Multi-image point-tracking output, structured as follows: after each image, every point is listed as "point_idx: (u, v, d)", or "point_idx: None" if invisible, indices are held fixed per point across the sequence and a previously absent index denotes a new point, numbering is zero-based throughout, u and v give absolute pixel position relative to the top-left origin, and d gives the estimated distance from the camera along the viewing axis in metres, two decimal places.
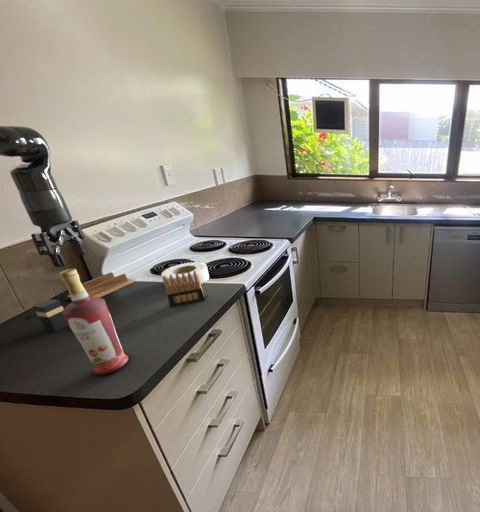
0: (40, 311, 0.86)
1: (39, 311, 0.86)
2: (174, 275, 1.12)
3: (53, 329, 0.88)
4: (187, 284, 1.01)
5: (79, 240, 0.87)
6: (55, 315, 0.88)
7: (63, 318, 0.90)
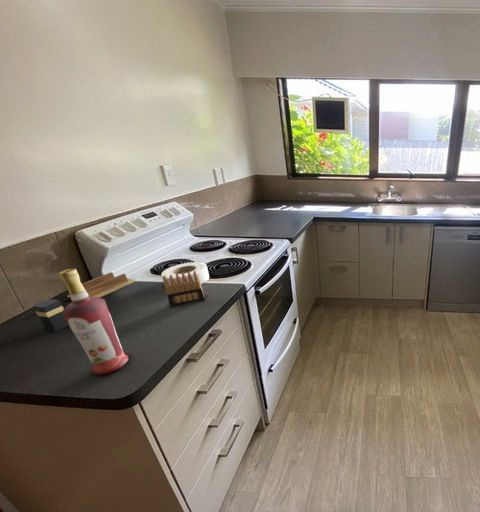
0: (40, 311, 0.86)
1: (39, 311, 0.86)
2: (174, 275, 1.12)
3: (53, 329, 0.88)
4: (187, 284, 1.01)
5: None
6: (55, 315, 0.88)
7: (63, 318, 0.90)
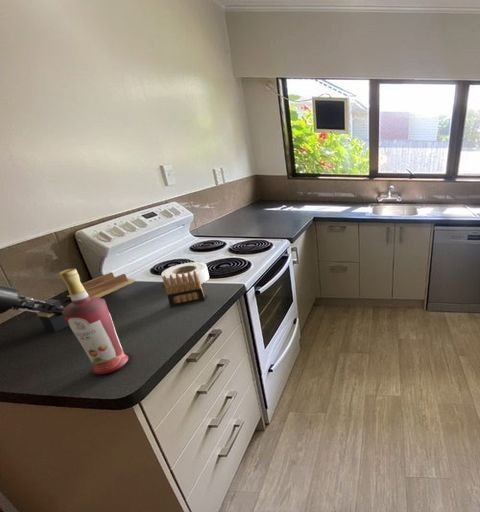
0: (40, 311, 0.86)
1: None
2: (174, 275, 1.12)
3: (53, 329, 0.88)
4: (187, 284, 1.01)
5: None
6: (55, 315, 0.88)
7: (63, 318, 0.90)
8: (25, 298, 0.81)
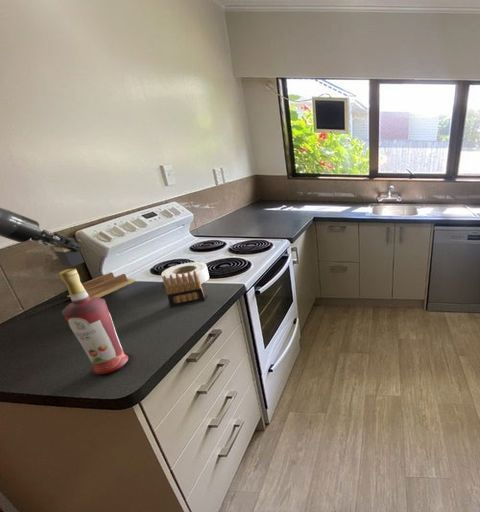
0: (57, 246, 0.95)
1: (56, 246, 0.95)
2: (174, 275, 1.12)
3: (68, 264, 0.97)
4: (187, 284, 1.01)
5: (62, 246, 0.95)
6: (71, 251, 0.97)
7: (78, 256, 0.99)
8: (45, 231, 0.91)
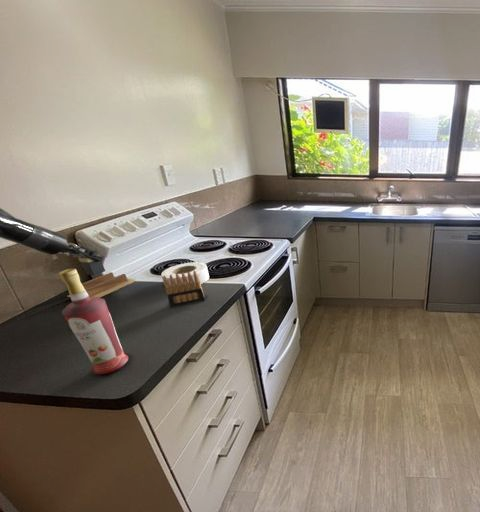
0: (82, 257, 1.05)
1: (81, 257, 1.06)
2: (174, 275, 1.12)
3: (91, 273, 1.08)
4: (187, 284, 1.01)
5: (86, 257, 1.05)
6: (94, 261, 1.08)
7: (100, 265, 1.10)
8: (71, 244, 1.01)
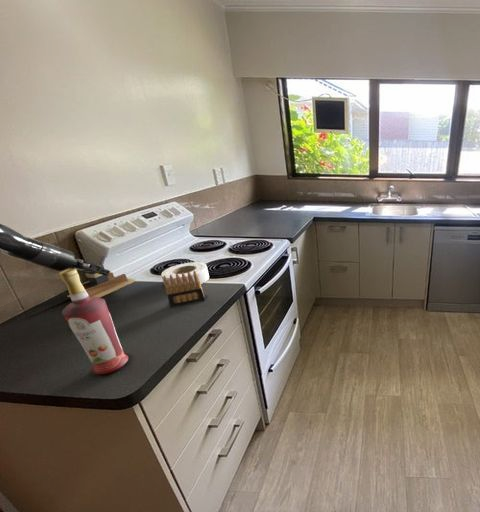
0: (89, 273, 1.08)
1: (88, 273, 1.08)
2: (174, 275, 1.12)
3: None
4: (187, 284, 1.01)
5: (94, 272, 1.06)
6: (100, 277, 1.10)
7: (106, 280, 1.12)
8: (78, 260, 1.03)
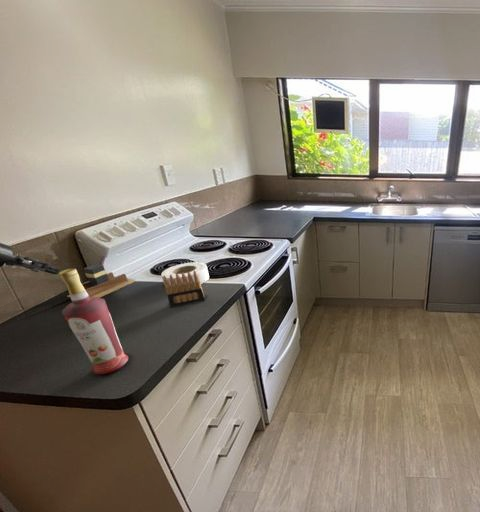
0: (89, 273, 1.08)
1: (88, 273, 1.08)
2: (174, 275, 1.12)
3: None
4: (187, 284, 1.01)
5: (38, 270, 0.91)
6: (100, 277, 1.10)
7: (106, 280, 1.12)
8: (19, 256, 0.89)
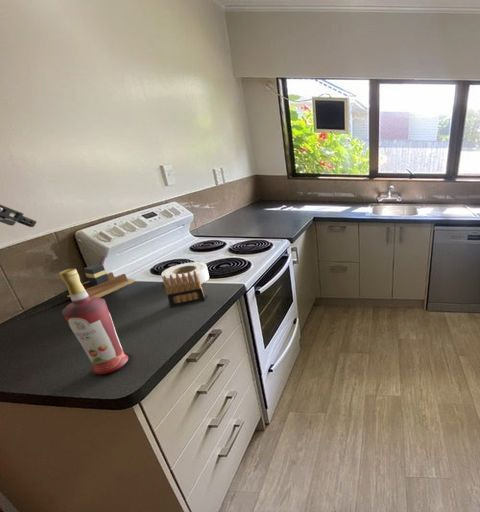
0: (89, 273, 1.08)
1: (88, 273, 1.08)
2: (174, 275, 1.12)
3: None
4: (187, 284, 1.01)
5: (11, 220, 0.84)
6: (100, 277, 1.10)
7: (106, 280, 1.12)
8: None
